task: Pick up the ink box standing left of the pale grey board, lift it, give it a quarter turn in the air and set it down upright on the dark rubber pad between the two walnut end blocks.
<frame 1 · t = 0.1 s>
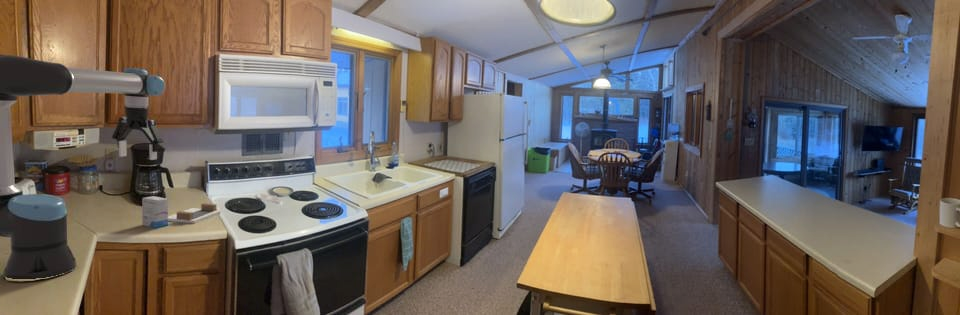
hand: (138, 157, 172), 28 cm above the countertop, fingers open, 13 cm apart
board: (193, 216, 189), on the countertop
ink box: (155, 225, 174), on the countertop
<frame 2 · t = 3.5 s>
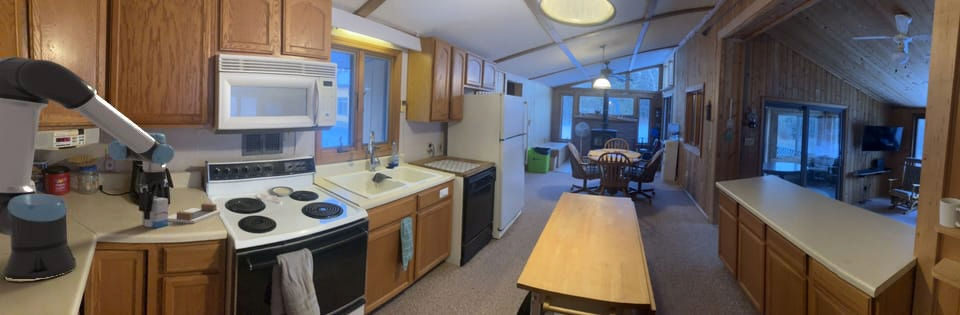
hand: (155, 224, 174), 0 cm above the countertop, fingers closed on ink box, 6 cm apart
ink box: (155, 225, 174), on the countertop, touching gripper
when the fingers open (4 cm above the countertop, at t = 8.4 s): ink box drops 2 cm, resting on board.
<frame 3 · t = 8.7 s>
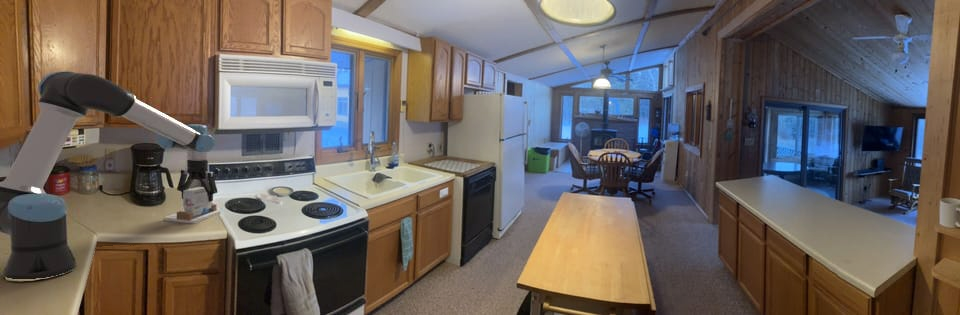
hand: (197, 207, 188), 5 cm above the countertop, fingers open, 10 cm apart
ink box: (196, 214, 188), point 1 cm above the countertop, touching board
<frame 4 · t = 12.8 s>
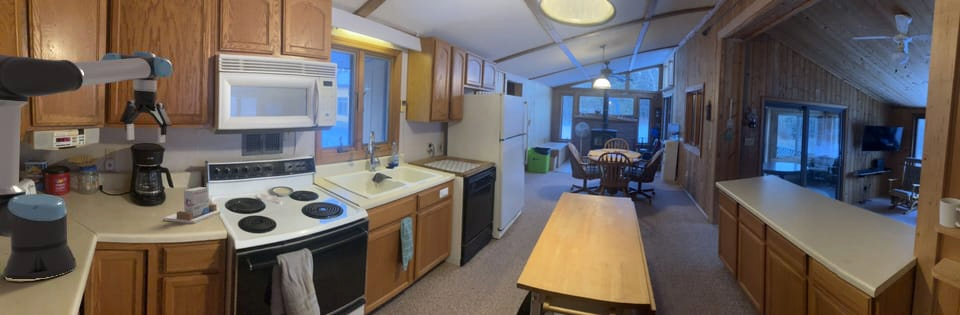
hand: (146, 141, 174), 35 cm above the countertop, fingers open, 13 cm apart
nothing on the countertop moved.
at the end: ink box inside the target area on the board (0.3 cm from its centre), point 1.3 cm above the board's base; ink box tilted 0°; the gripper is holding nothing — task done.
